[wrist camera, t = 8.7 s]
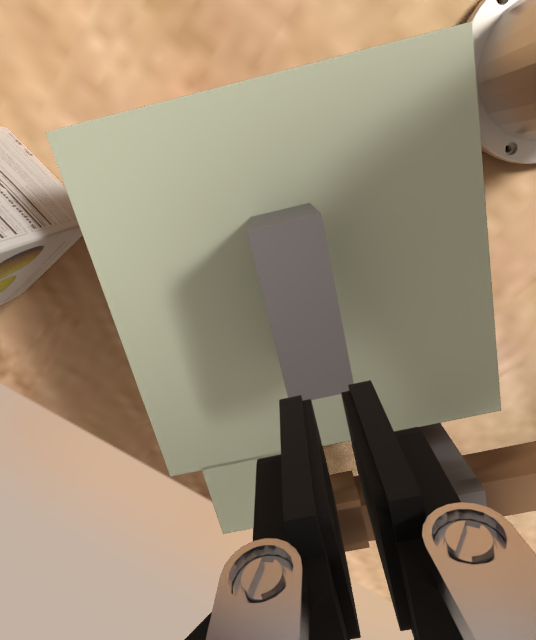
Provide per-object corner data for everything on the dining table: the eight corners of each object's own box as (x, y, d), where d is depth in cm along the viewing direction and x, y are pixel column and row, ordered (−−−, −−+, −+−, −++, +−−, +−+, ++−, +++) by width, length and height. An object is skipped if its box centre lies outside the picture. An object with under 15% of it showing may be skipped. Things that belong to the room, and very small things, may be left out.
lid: (462, 27, 21) (534, -22, 15) (498, 469, 29) (554, 544, 23) (54, 133, 23) (-17, 123, 17) (195, 527, 30) (179, 611, 25)
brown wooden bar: (609, 420, 26) (642, 445, 24) (608, 468, 27) (640, 497, 25) (318, 476, 28) (323, 506, 25) (329, 521, 29) (335, 553, 26)
